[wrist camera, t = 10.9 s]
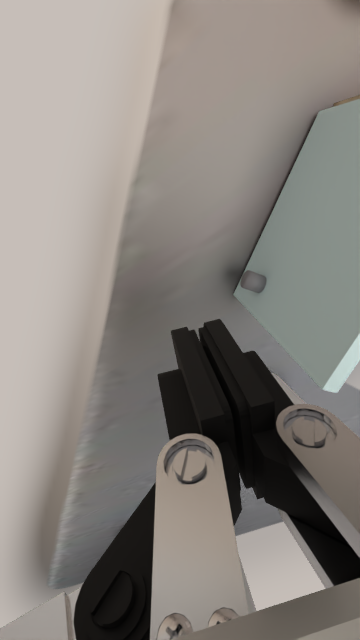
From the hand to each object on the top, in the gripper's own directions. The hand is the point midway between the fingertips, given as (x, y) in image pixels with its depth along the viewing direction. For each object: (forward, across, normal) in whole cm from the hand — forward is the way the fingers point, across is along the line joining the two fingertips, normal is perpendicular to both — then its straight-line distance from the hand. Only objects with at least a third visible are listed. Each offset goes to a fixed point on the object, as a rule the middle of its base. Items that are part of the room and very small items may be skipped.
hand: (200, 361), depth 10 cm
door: (+16, -10, -1) cm, 19 cm away
